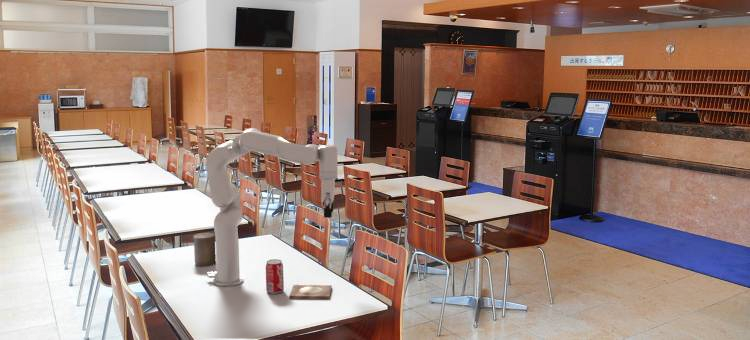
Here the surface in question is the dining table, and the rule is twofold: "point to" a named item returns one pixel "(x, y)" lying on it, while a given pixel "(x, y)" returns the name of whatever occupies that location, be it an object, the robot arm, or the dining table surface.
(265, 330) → the dining table surface
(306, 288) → the board
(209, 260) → the pillar candle
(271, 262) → the soda can
